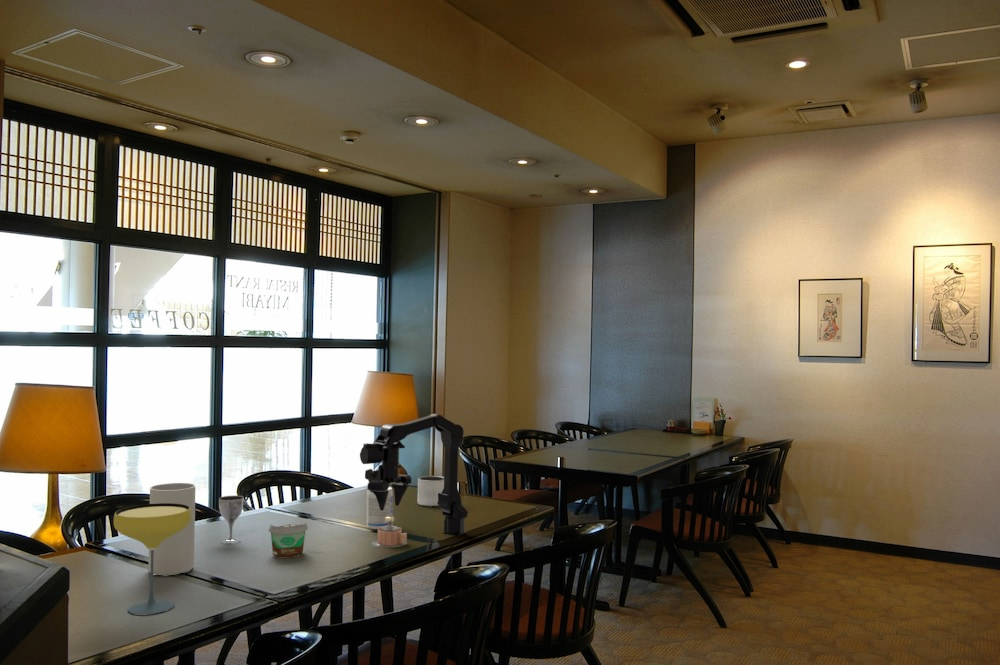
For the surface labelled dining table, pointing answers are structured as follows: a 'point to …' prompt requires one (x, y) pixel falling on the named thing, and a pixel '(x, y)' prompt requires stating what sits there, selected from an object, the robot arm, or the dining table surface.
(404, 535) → the orange slatted barrel
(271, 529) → the food container
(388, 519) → the plunger
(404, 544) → the disc
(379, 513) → the supplement tub
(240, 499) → the wine glass
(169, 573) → the cylinder vase
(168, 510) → the cocktail glass
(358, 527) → the dining table surface
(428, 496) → the planter
